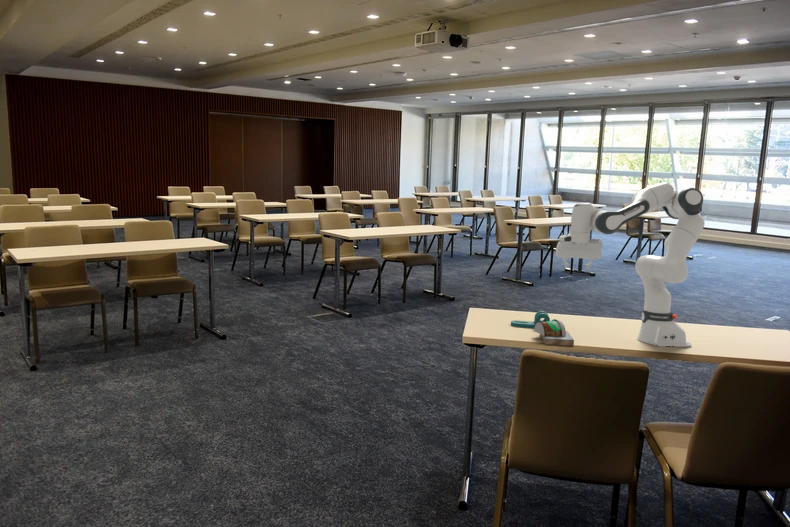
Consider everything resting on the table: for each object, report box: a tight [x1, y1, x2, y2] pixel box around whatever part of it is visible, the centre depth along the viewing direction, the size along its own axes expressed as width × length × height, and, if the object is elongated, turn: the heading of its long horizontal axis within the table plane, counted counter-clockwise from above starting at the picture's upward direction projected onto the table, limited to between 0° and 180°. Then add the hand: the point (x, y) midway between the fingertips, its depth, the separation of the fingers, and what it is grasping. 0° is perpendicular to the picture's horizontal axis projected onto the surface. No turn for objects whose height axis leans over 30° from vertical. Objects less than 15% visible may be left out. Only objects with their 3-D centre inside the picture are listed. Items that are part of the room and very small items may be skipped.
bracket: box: [510, 310, 551, 329], centre depth 294 cm, size 18×7×8 cm, turn 81°
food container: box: [533, 319, 567, 337], centre depth 271 cm, size 12×6×10 cm
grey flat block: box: [539, 330, 575, 347], centre depth 270 cm, size 12×16×3 cm
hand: (577, 267), depth 281 cm, fingers open, 8 cm apart
